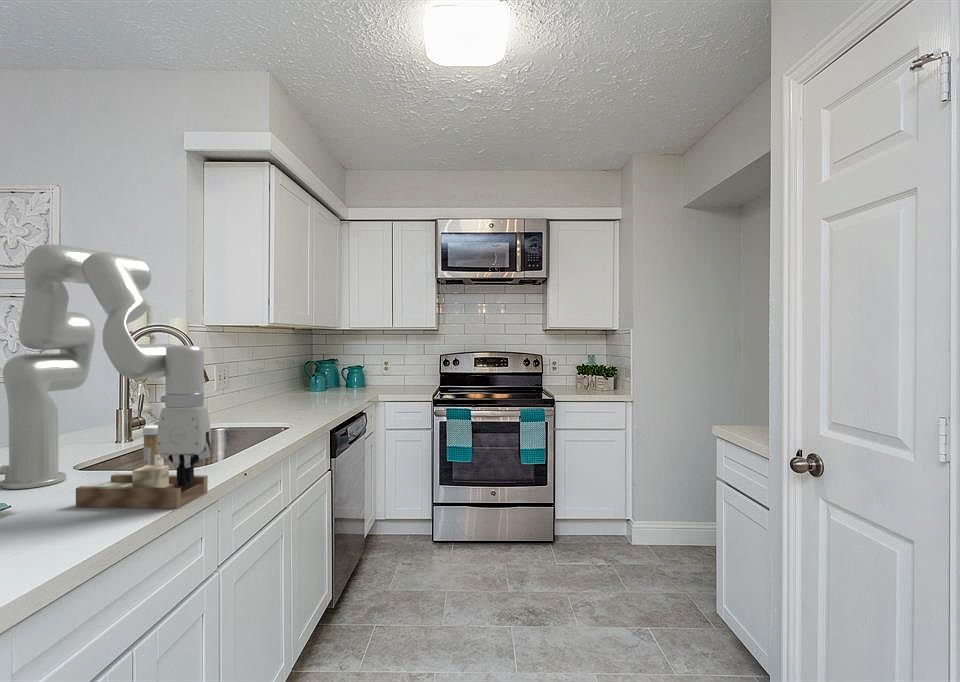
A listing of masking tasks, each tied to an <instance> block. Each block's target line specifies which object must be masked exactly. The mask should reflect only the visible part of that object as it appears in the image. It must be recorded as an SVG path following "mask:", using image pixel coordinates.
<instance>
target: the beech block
mask: <svg viewBox="0 0 960 682" xmlns="http://www.w3.org/2000/svg"><path fill="white" fill-rule="evenodd" d="M169 471H170V467H169V465H163V466H160V465H147V466H144V465H143V466H142V467H138V468H136V469H134V470H132V472H131V474H132V482H133V487H157V488H165V487H167V486H169V475H170V472H169Z"/></svg>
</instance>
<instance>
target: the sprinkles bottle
mask: <svg viewBox="0 0 960 682" xmlns="http://www.w3.org/2000/svg"><path fill="white" fill-rule="evenodd" d="M157 431H158V424H155V425H154V424H152V425H146V426H144V427H143V428H142V434H143V467H144V466H147V465H160V466H165V465H164V464H165V463H164V460H165V458H161V457H160V453H159V452H158V451H157Z"/></svg>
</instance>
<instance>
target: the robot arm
mask: <svg viewBox="0 0 960 682" xmlns="http://www.w3.org/2000/svg"><path fill="white" fill-rule="evenodd" d="M23 274H24V282H25V283H24V285H25V291H24V292H25V293H24V297H23V302H22V308H21V309H22V310H21V314H20V318H19V319H20V320H19V325H18V333H17V334H18V341H19V343H20V344H21V345H22V346H23V347H25V348H27V349H31V350H41V351H42V350H43V351H46V350H48V351H49V350H60V352H59V353H58V352H54V353H48V352H46V353H45V352H44V353H43V352H42V353H27V354H26V353H25V354H20V355H16V356H13V357H11V358H9V360H7V361H6V363H5V364H4V365H3V368H2V380H3V384H4V388H5V392H6V398H7V407H8V409H7V411H8V412H7V413H8V465H7V464H5V465H4V464H3V465H1V466H0V476H1V475H4V479H3V480H1V481H0V487H1V488H3V489H7V490H8V489H9V490H19V489H20V490H21V489H22V490H23V489H31V488H39V487H45V486H51V485H53V484H54V485H55V484H58V483H60V482H63V481H65V480H66V479H67V473H65V472H63V471H59V411H58V410H59V409H58V406H57V404H56V402H55V401H54V400H53V398H52V397H51V396H50V394H49V392H56V391H57V392H59V391H68V390H75V389H77V388H79V387H80V388H81V386H83V385H84V383H85V382H86V380H87V378H88V375H89V371H90V366H91V361H92V358H93V357H92V356H93V350H94V346H95V341H96V340H95V339H96V329H95V325H94V323H93V321H92V319H91V318H90V317H89V316H87V315H86V314H85V313H81V312H77V311H75V312H74V311H68V305H69V301H70V297H69V292H68V289H67V287H66V286H65V284H64V283H66V282H67V283H76V284H85V285H86V284H87V285H88V286H89V287H90V289H91V291H92V292H93V294H94V296H95V297H96V300H97V301H98V303H99V305H100V306H101V308H102V310H103V312H104V313H105V315H106V320H105V323H104V325H103V329H102V344H103V345H102V346H103V349H104V352H105V354H106V355H107V358H109V360H110V363H111V364H112V365H113V367H114V368H115V370H116V371H117V372H118V373H119V374H120V375H121V376H122V377H124V378H126V379H129V380H143V379H144V380H146V379H155V378H156V379H159V378H164V380H165V389H164V390H165V394H164V395H162V396H160V402H162V403H164V406H165V407H162V408H161V409H160V414H159V418H158V424H157V425H158V431H157V451H158V452H159V453H160V457H161V458H164V460H165V459H166V460H168V461H170V462H171V463H172V464H173V467H174V468H175V469H176V475H177V481H178V486H187V485H189V484H191V483H193V480H194V475H195V469H194V468H195V466H196V465H197V463H199V461H200V460H204V459H207V458H209V457H211V451H210V449H211V446H212V432H211V429H212V428H211V421H210V416H209V411H208V407H207V406H205V377H204V376H205V374H204V373H205V370H204V369H205V365H204V363H205V362H204V361H205V356H204V355H205V354H204V349H203V347H201V346H199V345H193V344H192V345H190V344H189V345H188V344H183V345H182V344H181V345H177V344H172V343H171V344H170V343H145V344H144V343H143V344H142V343H139V344H138V343H136V341H135V340H134V339H133V337H132V336H131V334H130V331H129V329H128V324H130V323H132V322H134V321H136V320H138V319H139V318H141V317H142V316H143V315H144V314H145V313H146V312H147V310H148V308H149V307H148V306H149V305H148V304H149V303H148V301H147V299H146V298H145V296H144V294H143V293H142V291H144V290H146V289H147V288H148V287H150V284H151V283H152V272H151V268H150V267H149V265H148V264H147V262H145V261H144V260H143V259H141V258H140V257H136V256H131V255H124V254H120V253H119V254H118V253H112V252H109V251H108V252H107V251H101V250H97V249H96V250H95V249H88V248H81V247H77V246H70V245H64V244H42V245H38V246H36V247H34V248H33V249H31V251H30V252H29V253H28V254H27V256H26V258H25V261H24V267H23Z"/></svg>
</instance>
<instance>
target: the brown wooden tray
mask: <svg viewBox="0 0 960 682" xmlns="http://www.w3.org/2000/svg"><path fill="white" fill-rule="evenodd" d="M208 482H209V481H208V475H205V474H202V475H195V474H194V480H193V483H191V484H189V485H187V486H178V481H177V474H169V486H167V487H165V488H157V487H133V482H132V473H130V474H127V473H126V474H125V473H119V474H118V473H115V474H112V475H110V482H108V483H105V484H103V485H99V486H92V485H91V486H86V485H85V486H84V485H81V486H78V487H75V508H106V509H107V508H108V509H110V508H111V509H113V508H114V509H155V510H156V509H161V510H163V509H165V510H169V509H170V510H178V509H179V508H182V507H183V506H185V505H187V504H189V503H191V502H193V501H195V500H197V499H198V498H201V497H202V496H204V495H206V494H208V493H209V491H208V488H209V487H208Z"/></svg>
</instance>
